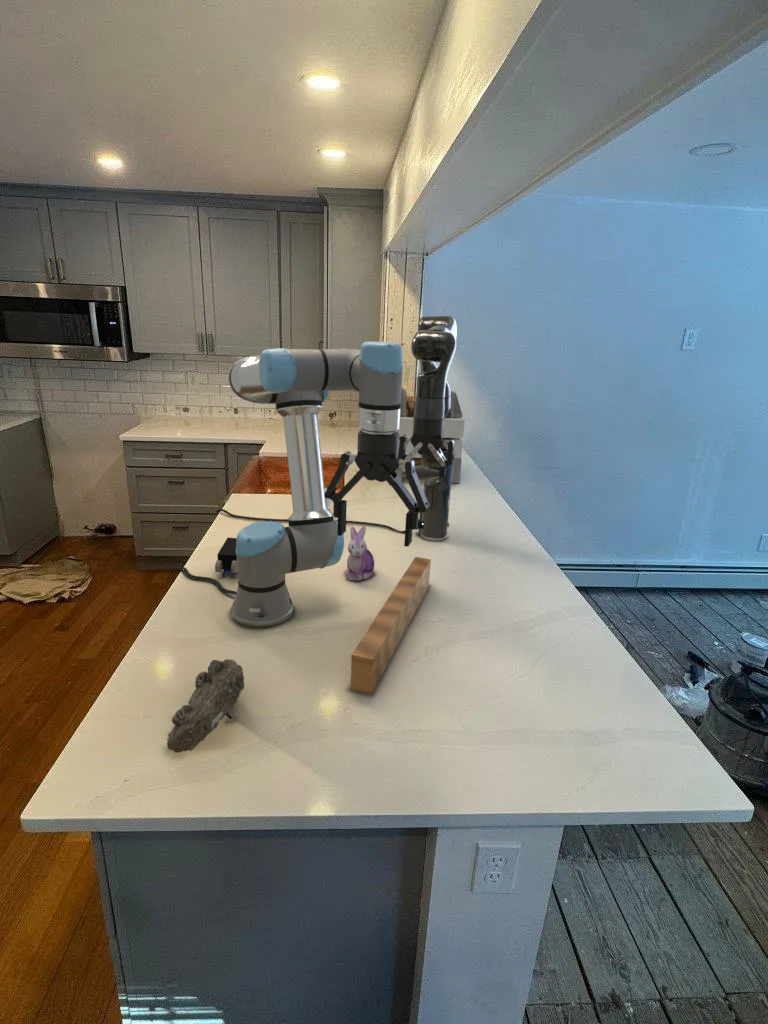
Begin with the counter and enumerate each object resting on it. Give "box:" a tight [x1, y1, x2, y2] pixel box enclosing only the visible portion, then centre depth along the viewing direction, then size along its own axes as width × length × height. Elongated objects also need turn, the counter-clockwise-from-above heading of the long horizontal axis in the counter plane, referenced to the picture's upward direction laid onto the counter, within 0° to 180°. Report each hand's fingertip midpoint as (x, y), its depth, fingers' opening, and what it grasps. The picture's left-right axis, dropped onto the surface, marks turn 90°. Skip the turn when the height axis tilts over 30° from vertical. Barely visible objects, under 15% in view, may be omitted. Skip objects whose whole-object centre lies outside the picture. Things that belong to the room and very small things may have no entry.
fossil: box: [166, 658, 245, 754], centre depth 106 cm, size 22×10×15 cm
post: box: [350, 556, 432, 695], centre depth 139 cm, size 52×5×8 cm, turn 163°
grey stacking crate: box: [396, 387, 465, 484], centre depth 268 cm, size 34×33×41 cm
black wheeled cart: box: [214, 537, 237, 578], centre depth 166 cm, size 7×8×15 cm
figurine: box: [346, 525, 375, 582], centre depth 165 cm, size 9×10×15 cm
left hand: (374, 538), depth 110 cm, fingers open, 13 cm apart
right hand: (424, 477), depth 147 cm, fingers open, 8 cm apart
